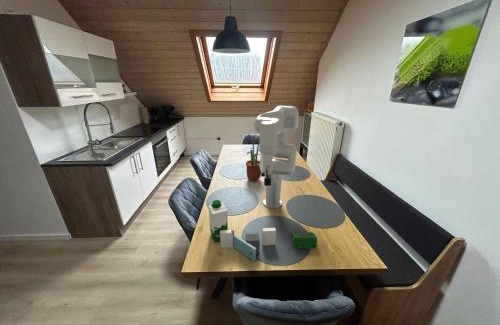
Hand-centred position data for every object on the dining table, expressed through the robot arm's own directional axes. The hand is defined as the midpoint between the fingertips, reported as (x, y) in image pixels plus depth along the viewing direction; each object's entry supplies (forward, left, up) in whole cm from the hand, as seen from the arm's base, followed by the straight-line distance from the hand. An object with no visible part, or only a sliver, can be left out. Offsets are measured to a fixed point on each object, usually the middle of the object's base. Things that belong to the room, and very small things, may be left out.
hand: (265, 180), depth 105 cm
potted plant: (-58, +3, -30) cm, 66 cm away
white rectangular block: (+11, -10, -30) cm, 33 cm away
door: (+17, -12, -30) cm, 36 cm away
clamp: (+12, +19, -31) cm, 38 cm away
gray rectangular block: (+15, -8, -30) cm, 34 cm away
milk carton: (+4, -24, -30) cm, 39 cm away
